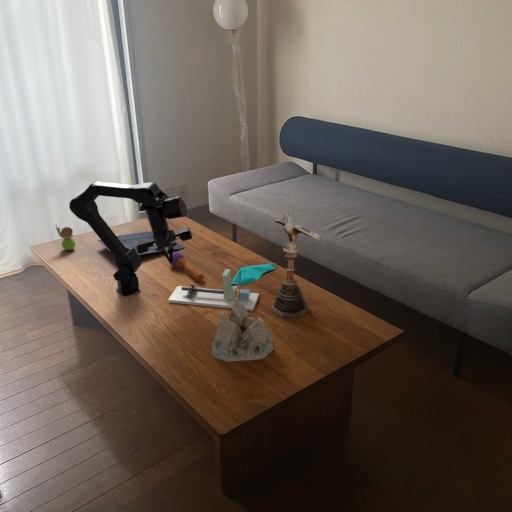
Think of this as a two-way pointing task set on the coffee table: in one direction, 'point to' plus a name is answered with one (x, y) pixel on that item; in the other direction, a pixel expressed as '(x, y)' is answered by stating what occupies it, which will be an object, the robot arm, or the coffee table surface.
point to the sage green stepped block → (228, 286)
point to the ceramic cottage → (241, 336)
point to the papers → (132, 239)
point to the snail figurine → (66, 238)
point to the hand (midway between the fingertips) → (171, 262)
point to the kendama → (185, 266)
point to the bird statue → (291, 274)
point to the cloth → (251, 273)
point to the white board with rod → (212, 297)
